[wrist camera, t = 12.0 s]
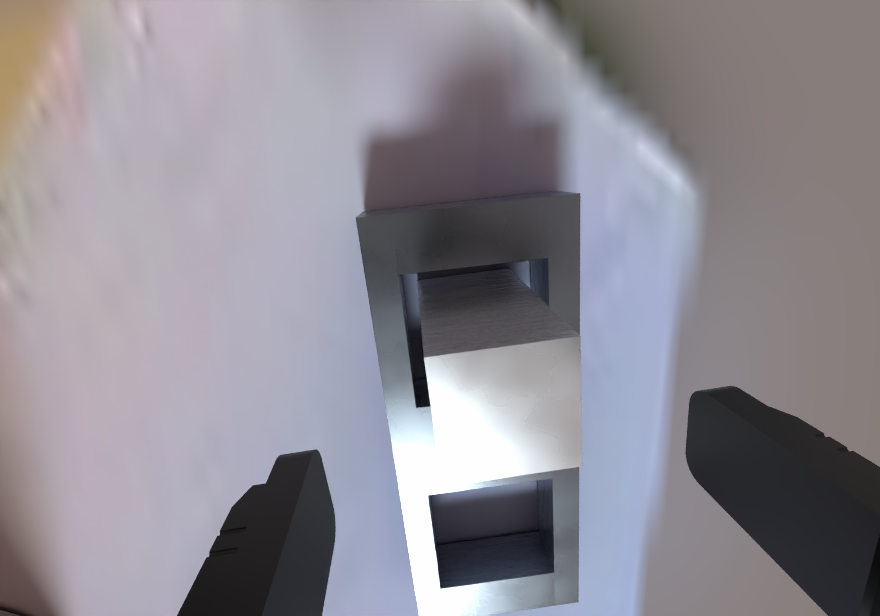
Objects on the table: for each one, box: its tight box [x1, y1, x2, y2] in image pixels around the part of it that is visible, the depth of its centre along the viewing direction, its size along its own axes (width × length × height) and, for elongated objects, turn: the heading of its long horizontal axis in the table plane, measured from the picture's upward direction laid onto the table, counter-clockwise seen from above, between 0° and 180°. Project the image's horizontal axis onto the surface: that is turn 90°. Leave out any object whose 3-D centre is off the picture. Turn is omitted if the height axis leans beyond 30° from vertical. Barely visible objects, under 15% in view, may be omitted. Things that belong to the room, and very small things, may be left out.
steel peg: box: [417, 268, 582, 487], centre depth 15 cm, size 4×4×8 cm
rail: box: [356, 191, 580, 616], centre depth 19 cm, size 8×20×2 cm, turn 6°
